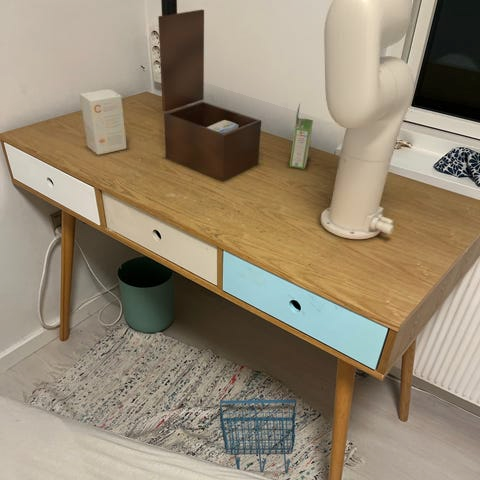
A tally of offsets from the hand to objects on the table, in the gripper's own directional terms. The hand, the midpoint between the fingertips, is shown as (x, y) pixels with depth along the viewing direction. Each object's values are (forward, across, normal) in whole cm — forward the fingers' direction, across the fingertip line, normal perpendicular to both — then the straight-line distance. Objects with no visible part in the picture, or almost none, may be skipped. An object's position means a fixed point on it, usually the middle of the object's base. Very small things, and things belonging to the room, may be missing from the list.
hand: (169, 19), depth 112 cm
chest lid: (+8, +4, 0) cm, 9 cm away
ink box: (+29, +29, +15) cm, 44 cm away
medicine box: (+28, +16, 0) cm, 32 cm away
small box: (+29, -11, -13) cm, 34 cm away
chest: (+29, +13, 0) cm, 32 cm away
